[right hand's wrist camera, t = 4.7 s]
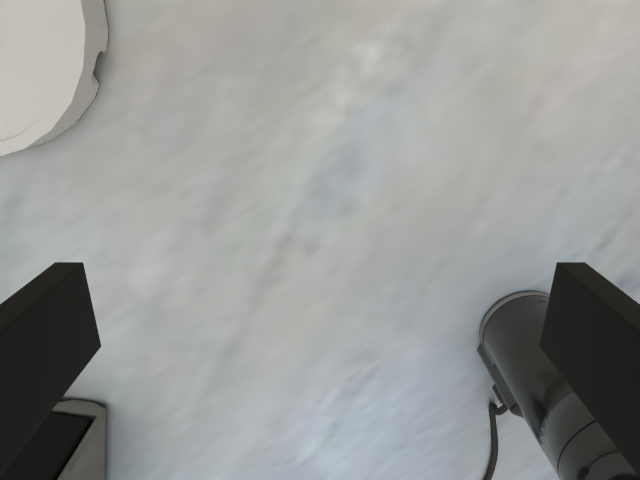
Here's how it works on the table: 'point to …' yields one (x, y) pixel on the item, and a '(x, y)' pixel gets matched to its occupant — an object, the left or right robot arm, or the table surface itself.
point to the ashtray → (47, 67)
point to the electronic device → (65, 445)
